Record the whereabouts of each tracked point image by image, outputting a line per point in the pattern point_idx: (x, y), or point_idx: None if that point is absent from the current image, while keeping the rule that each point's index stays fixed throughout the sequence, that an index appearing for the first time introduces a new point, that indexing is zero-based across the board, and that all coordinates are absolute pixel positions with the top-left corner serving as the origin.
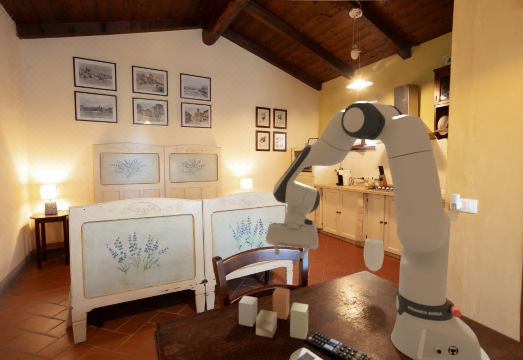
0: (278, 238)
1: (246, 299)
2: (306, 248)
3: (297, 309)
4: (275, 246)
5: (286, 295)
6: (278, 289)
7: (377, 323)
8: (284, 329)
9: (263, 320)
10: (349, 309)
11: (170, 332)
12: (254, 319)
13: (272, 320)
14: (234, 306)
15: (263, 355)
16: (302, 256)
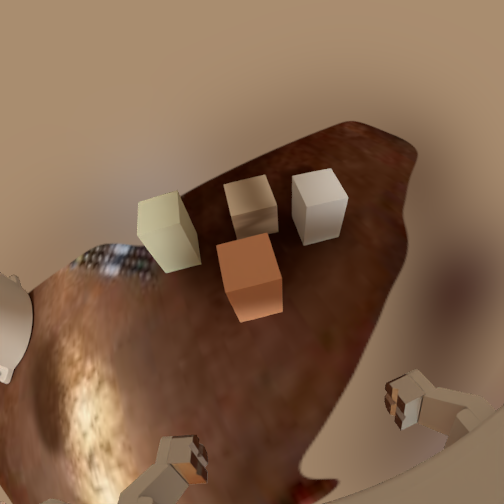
0: (491, 448)
1: (325, 185)
2: (128, 491)
3: (160, 200)
4: (453, 399)
5: (216, 246)
6: (264, 266)
7: (44, 373)
8: None
9: (246, 180)
10: (92, 417)
11: (393, 144)
12: (296, 221)
13: (224, 186)
14: (393, 257)
15: (223, 173)
16: (170, 437)
